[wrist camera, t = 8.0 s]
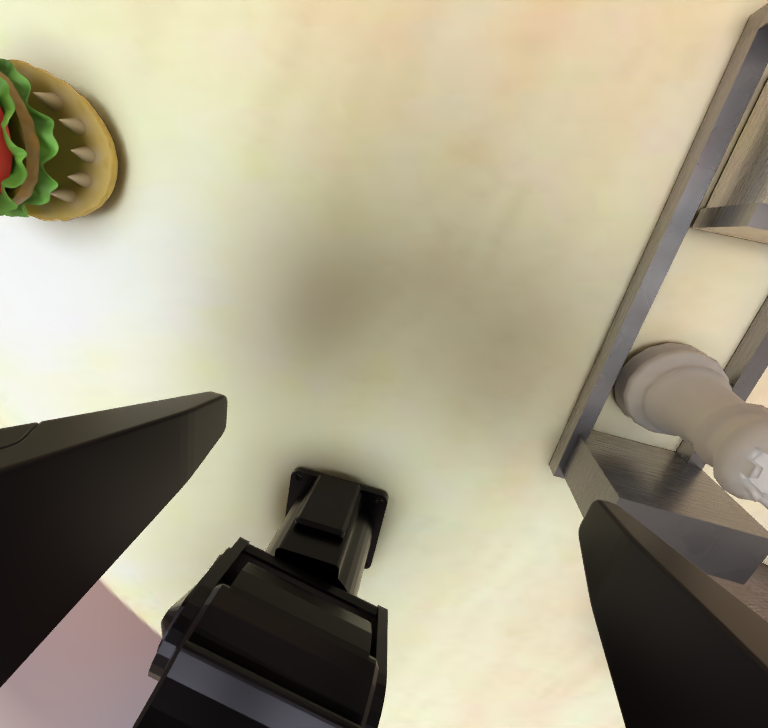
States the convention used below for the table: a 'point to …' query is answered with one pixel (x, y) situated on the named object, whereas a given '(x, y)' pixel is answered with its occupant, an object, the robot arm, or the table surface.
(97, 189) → the hamburger
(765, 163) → the ram
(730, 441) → the rook chess piece
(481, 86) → the table surface
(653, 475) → the press bed
